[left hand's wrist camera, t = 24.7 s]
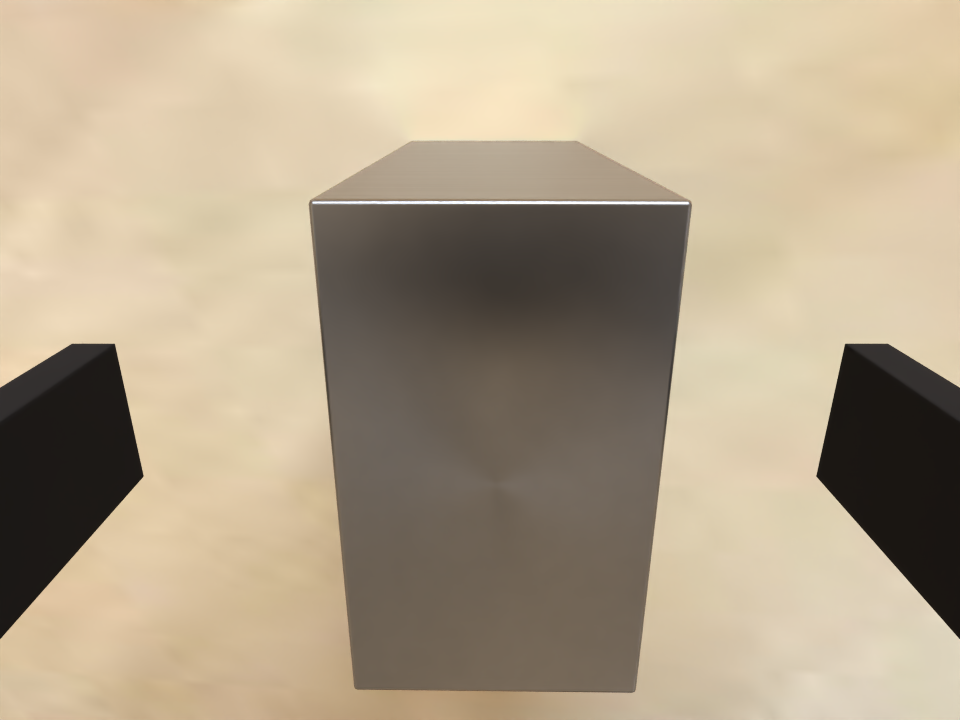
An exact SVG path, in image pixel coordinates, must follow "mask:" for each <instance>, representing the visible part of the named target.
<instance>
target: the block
mask: <svg viewBox="0 0 960 720" xmlns="http://www.w3.org/2000/svg"><path fill="white" fill-rule="evenodd" d="M691 209H692V204H691V201H690V200H688V199H686V198H684V197H682V196H680V195H678V194H676V193H675V192H673V191H671V190H669V189H667V188H665V187H663V186H661V185H659V184H657V183H656V182H654V181H652V180H650V179H648V178H646V177H644V176H642V175H640V174H638V173H637V172H635V171H633V170H631V169H629V168H627V167H625V166H623V165H621V164H619V163H618V162H616V161H614V160H612V159H610V158H608V157H606V156H604V155H602V154H600V153H599V152H597V151H595V150H593V149H591V148H589V147H587V146H585V145H583V144H581V143H580V142H577V141H411V142H409V143H407V144H406V145H404V146H402V147H401V148H399V149H397V150H395V151H394V152H392V153H390V154H389V155H387V156H385V157H383V158H382V159H380V160H378V161H377V162H375V163H373V164H371V165H370V166H368V167H366V168H365V169H363V170H361V171H359V172H358V173H356V174H354V175H353V176H351V177H349V178H347V179H346V180H344V181H342V182H341V183H339V184H337V185H335V186H334V187H332V188H330V189H329V190H327V191H325V192H323V193H322V194H320V195H318V196H317V197H315V198H313V199H312V200H310V202H309V212H310V223H311V233H312V244H313V255H314V265H315V276H316V286H317V297H318V308H319V318H320V329H321V340H322V350H323V361H324V371H325V382H326V393H327V403H328V414H329V424H330V435H331V446H332V456H333V467H334V477H335V488H336V499H337V509H338V520H339V530H340V541H341V552H342V562H343V573H344V584H345V594H346V605H347V615H348V626H349V637H350V647H351V658H352V668H353V679H354V687H355V689H363V690H451V691H540V692H628V693H632V692H635V689H636V683H637V674H638V665H639V657H640V648H641V640H642V631H643V622H644V614H645V605H646V596H647V588H648V579H649V571H650V562H651V553H652V545H653V536H654V528H655V519H656V510H657V502H658V493H659V485H660V476H661V467H662V459H663V450H664V441H665V433H666V424H667V416H668V407H669V398H670V390H671V381H672V373H673V364H674V355H675V347H676V338H677V330H678V321H679V312H680V304H681V295H682V287H683V278H684V269H685V261H686V252H687V243H688V235H689V226H690V218H691Z"/></svg>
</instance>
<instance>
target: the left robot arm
mask: <svg viewBox="0 0 960 720" xmlns="http://www.w3.org/2000/svg"><path fill="white" fill-rule="evenodd" d="M142 478H143V471H142V467H141V462H140V458H139V453H138V448H137V444H136V439H135V435H134V430H133V425H132V421H131V416H130V412H129V407H128V402H127V398H126V393H125V389H124V384H123V379H122V375H121V370H120V366H119V361H118V356H117V352H116V347H115V344H71V345H69V346H68V347H66V348H65V349H63V350H61V351H60V352H58V353H56V354H55V355H53V356H51V357H50V358H48V359H46V360H45V361H43V362H42V363H40V364H38V365H37V366H35V367H33V368H32V369H30V370H28V371H27V372H25V373H24V374H22V375H20V376H19V377H17V378H15V379H14V380H12V381H10V382H9V383H7V384H6V385H4V386H2V387H1V388H0V639H1V638H2V636H3V635H4V634H5V633H6V632H7V631H8V630H9V628H10V627H11V626H12V625H13V624H14V623H15V622H16V621H17V619H18V618H19V617H20V616H21V615H22V614H23V613H24V611H25V610H26V609H27V608H28V607H29V606H30V605H31V604H32V602H33V601H34V600H35V599H36V598H37V597H38V596H39V594H40V593H41V592H42V591H43V590H44V589H45V588H46V587H47V585H48V584H49V583H50V582H51V581H52V580H53V579H54V577H55V576H56V575H57V574H58V573H59V572H60V571H61V569H62V568H63V567H64V566H65V565H66V564H67V563H68V562H69V560H70V559H71V558H72V557H73V556H74V555H75V554H76V552H77V551H78V550H79V549H80V548H81V547H82V546H83V545H84V543H85V542H86V541H87V540H88V539H89V538H90V537H91V535H92V534H93V533H94V532H95V531H96V530H97V529H98V528H99V526H100V525H101V524H102V523H103V522H104V521H105V520H106V518H107V517H108V516H109V515H110V514H111V513H112V512H113V511H114V509H115V508H116V507H117V506H118V505H119V504H120V503H121V501H122V500H123V499H124V498H125V497H126V496H127V495H128V493H129V492H130V491H131V490H132V489H133V488H134V487H135V486H136V484H137V483H138V482H139V481H140V480H141V479H142ZM817 478H818V479H819V480H820V481H821V482H822V483H823V484H824V486H825V487H826V488H827V489H828V490H829V491H830V492H831V493H832V495H833V496H834V497H835V498H836V499H837V500H838V501H839V503H840V504H841V505H842V506H843V507H844V508H845V509H846V511H847V512H848V513H849V514H850V515H851V516H852V517H853V518H854V520H855V521H856V522H857V523H858V524H859V525H860V526H861V528H862V529H863V530H864V531H865V532H866V533H867V534H868V535H869V537H870V538H871V539H872V540H873V541H874V542H875V543H876V545H877V546H878V547H879V548H880V549H881V550H882V551H883V552H884V554H885V555H886V556H887V557H888V558H889V559H890V560H891V562H892V563H893V564H894V565H895V566H896V567H897V568H898V569H899V571H900V572H901V573H902V574H903V575H904V576H905V577H906V579H907V580H908V581H909V582H910V583H911V584H912V585H913V587H914V588H915V589H916V590H917V591H918V592H919V593H920V594H921V596H922V597H923V598H924V599H925V600H926V601H927V602H928V604H929V605H930V606H931V607H932V608H933V609H934V610H935V611H936V613H937V614H938V615H939V616H940V617H941V618H942V619H943V621H944V622H945V623H946V624H947V625H948V626H949V627H950V628H951V630H952V631H953V632H954V633H955V634H956V635H957V636H958V638H959V639H960V388H959V387H958V386H956V385H954V384H953V383H951V382H950V381H948V380H946V379H945V378H943V377H941V376H940V375H938V374H936V373H935V372H933V371H932V370H930V369H928V368H927V367H925V366H923V365H922V364H920V363H918V362H917V361H915V360H914V359H912V358H910V357H909V356H907V355H905V354H904V353H902V352H900V351H899V350H897V349H895V348H894V347H892V346H891V345H889V344H845V347H844V352H843V356H842V361H841V366H840V370H839V375H838V379H837V384H836V389H835V393H834V398H833V402H832V407H831V412H830V416H829V421H828V425H827V430H826V435H825V439H824V444H823V448H822V453H821V458H820V462H819V467H818V471H817Z"/></svg>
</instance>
